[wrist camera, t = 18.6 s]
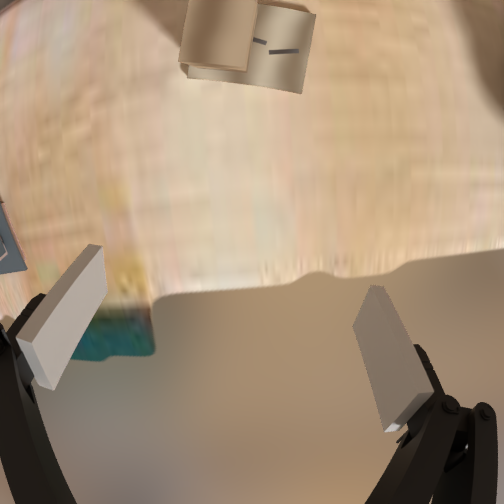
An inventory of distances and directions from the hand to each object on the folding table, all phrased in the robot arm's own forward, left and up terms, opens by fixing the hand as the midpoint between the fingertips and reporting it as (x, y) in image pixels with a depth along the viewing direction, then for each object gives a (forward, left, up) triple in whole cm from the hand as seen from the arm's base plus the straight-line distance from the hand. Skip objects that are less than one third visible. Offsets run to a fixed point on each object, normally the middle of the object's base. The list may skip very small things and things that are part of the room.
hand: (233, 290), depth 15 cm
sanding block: (+5, -15, -27) cm, 31 cm away
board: (+2, -15, -29) cm, 32 cm away
